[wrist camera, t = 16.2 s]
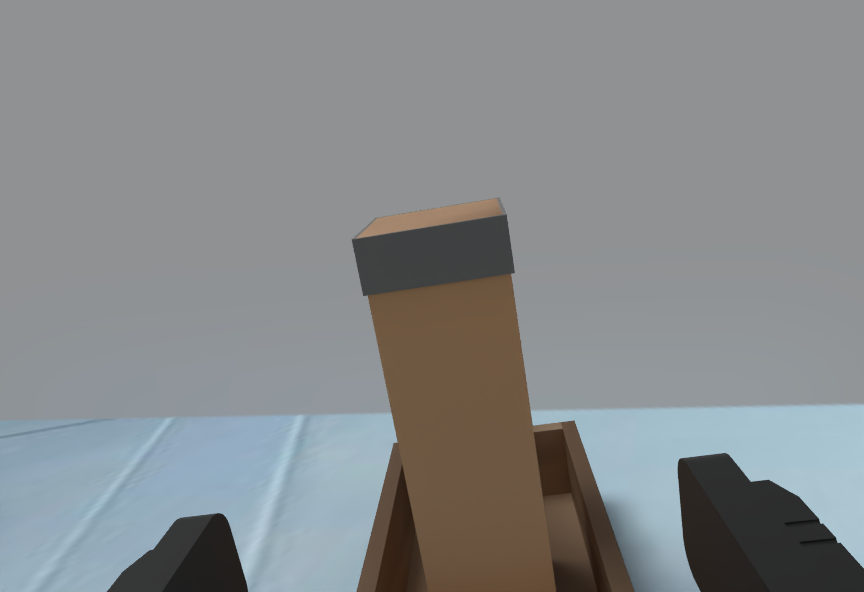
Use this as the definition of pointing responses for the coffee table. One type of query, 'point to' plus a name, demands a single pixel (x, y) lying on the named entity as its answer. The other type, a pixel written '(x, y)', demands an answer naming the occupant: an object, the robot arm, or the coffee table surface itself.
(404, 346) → the brown tall square block
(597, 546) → the walnut box
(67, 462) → the coffee table surface
